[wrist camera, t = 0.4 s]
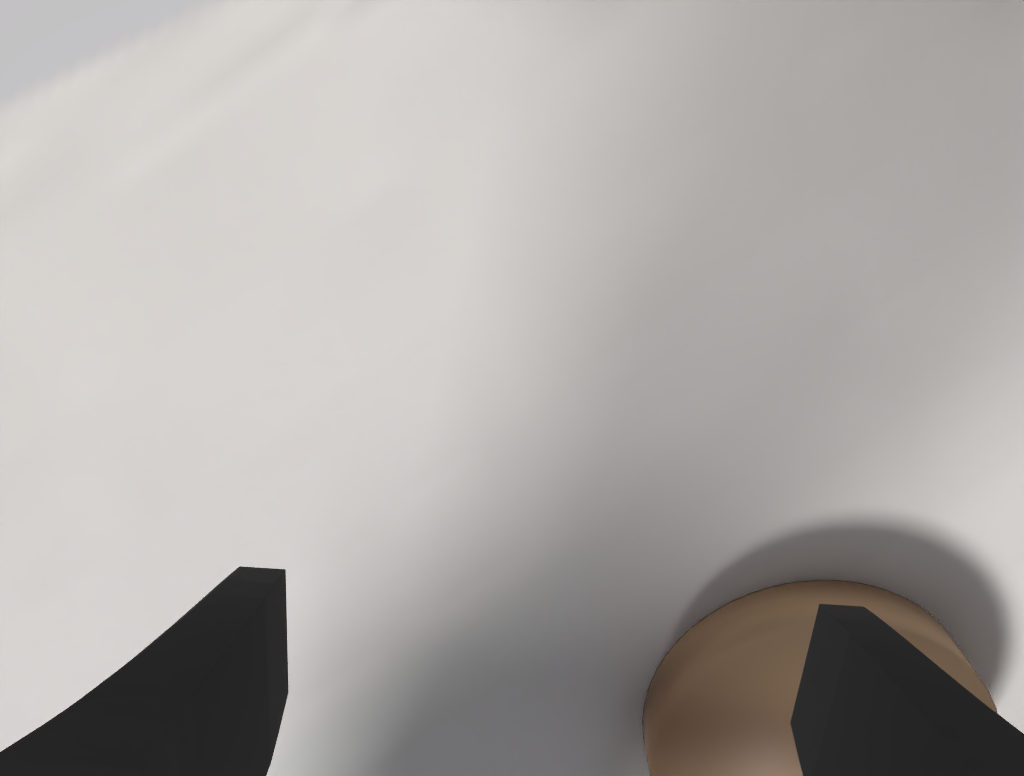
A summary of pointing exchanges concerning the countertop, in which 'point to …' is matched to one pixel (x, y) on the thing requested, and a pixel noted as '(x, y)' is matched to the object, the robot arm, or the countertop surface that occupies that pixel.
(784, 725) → the walnut stand
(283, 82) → the countertop surface
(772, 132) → the countertop surface
